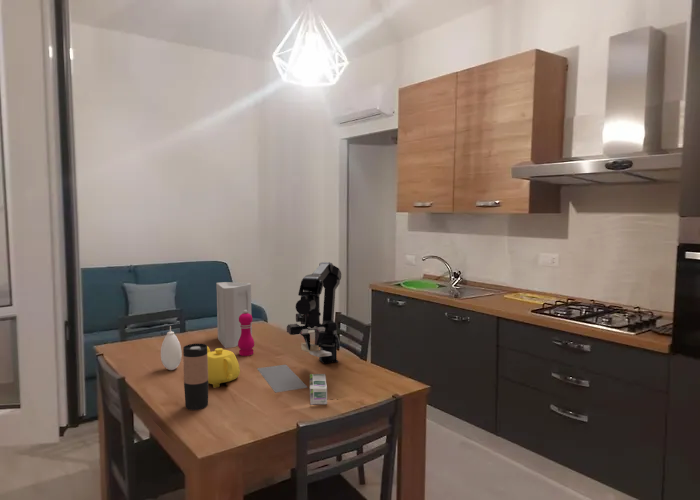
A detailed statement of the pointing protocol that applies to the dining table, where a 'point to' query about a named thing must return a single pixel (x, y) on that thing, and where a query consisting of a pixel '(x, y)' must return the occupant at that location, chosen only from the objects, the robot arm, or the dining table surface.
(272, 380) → the charcoal board
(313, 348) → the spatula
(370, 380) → the dining table surface
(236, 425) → the dining table surface
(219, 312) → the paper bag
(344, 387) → the dining table surface
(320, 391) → the syrup box
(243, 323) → the pepper mill
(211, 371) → the teapot
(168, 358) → the air blower bulb
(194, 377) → the travel mug
